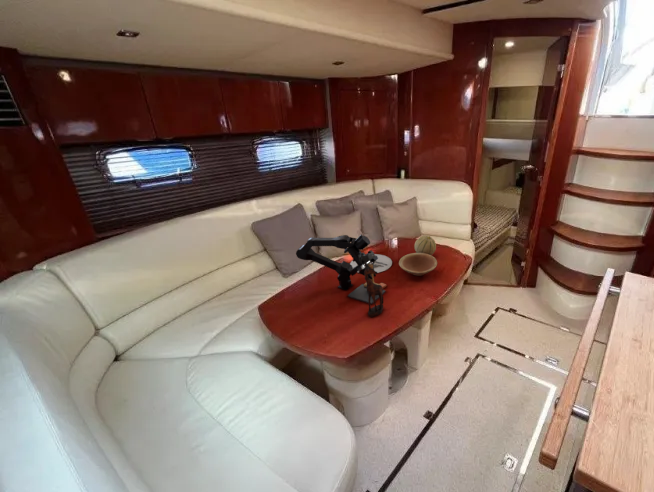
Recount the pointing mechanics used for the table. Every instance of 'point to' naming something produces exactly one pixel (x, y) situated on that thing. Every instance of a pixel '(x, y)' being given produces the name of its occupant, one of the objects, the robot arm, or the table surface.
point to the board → (363, 295)
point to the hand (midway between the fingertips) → (373, 277)
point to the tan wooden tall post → (372, 277)
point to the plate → (378, 263)
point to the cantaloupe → (425, 245)
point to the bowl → (418, 263)
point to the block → (383, 285)
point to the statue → (373, 292)
